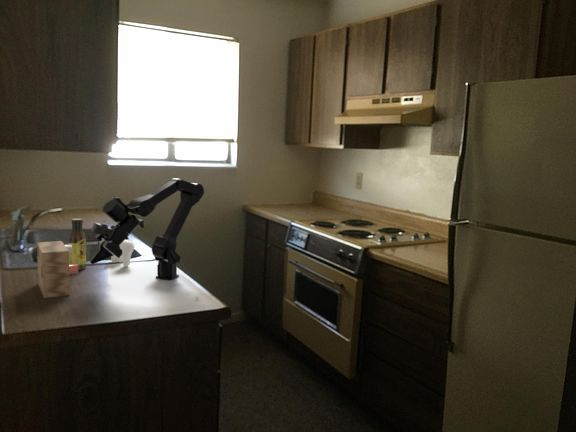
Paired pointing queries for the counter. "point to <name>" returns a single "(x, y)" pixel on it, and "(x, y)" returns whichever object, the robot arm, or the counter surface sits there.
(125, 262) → the lightbulb
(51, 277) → the wooden block
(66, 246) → the ivory button
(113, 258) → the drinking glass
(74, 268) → the salmon pink cylinder
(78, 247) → the sauce bottle
